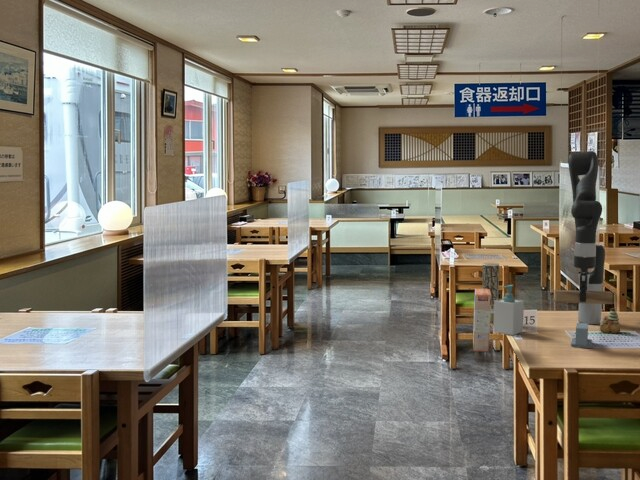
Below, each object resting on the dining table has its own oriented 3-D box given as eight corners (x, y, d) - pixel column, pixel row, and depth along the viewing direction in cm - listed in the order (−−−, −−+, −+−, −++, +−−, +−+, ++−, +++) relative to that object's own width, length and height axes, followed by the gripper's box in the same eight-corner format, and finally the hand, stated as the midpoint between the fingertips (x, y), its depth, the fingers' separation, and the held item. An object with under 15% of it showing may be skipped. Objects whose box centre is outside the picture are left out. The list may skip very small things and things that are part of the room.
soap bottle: (492, 332, 285) (494, 285, 283) (503, 328, 292) (505, 282, 290) (512, 335, 279) (514, 287, 278) (523, 332, 286) (524, 285, 284)
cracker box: (490, 352, 254) (491, 294, 251) (472, 351, 255) (474, 294, 253) (489, 343, 267) (490, 288, 265) (473, 342, 268) (474, 287, 266)
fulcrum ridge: (572, 340, 272) (572, 322, 271) (591, 342, 269) (592, 323, 269) (570, 346, 263) (571, 327, 262) (591, 348, 260) (591, 329, 259)
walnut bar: (554, 300, 268) (554, 290, 268) (609, 302, 265) (610, 291, 264) (555, 302, 264) (556, 291, 264) (612, 304, 261) (612, 293, 260)
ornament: (599, 333, 285) (600, 308, 284) (598, 329, 290) (599, 305, 289) (621, 334, 282) (622, 309, 281) (619, 331, 288) (620, 306, 287)
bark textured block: (497, 323, 302) (499, 264, 299) (481, 322, 303) (483, 264, 301) (497, 319, 309) (498, 262, 306) (481, 319, 310) (482, 262, 307)
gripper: (574, 252, 271) (573, 296, 272) (573, 256, 257) (571, 302, 259) (596, 253, 268) (594, 297, 270) (595, 257, 255) (593, 304, 256)
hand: (583, 300), depth 264 cm, fingers closed on walnut bar, 4 cm apart
